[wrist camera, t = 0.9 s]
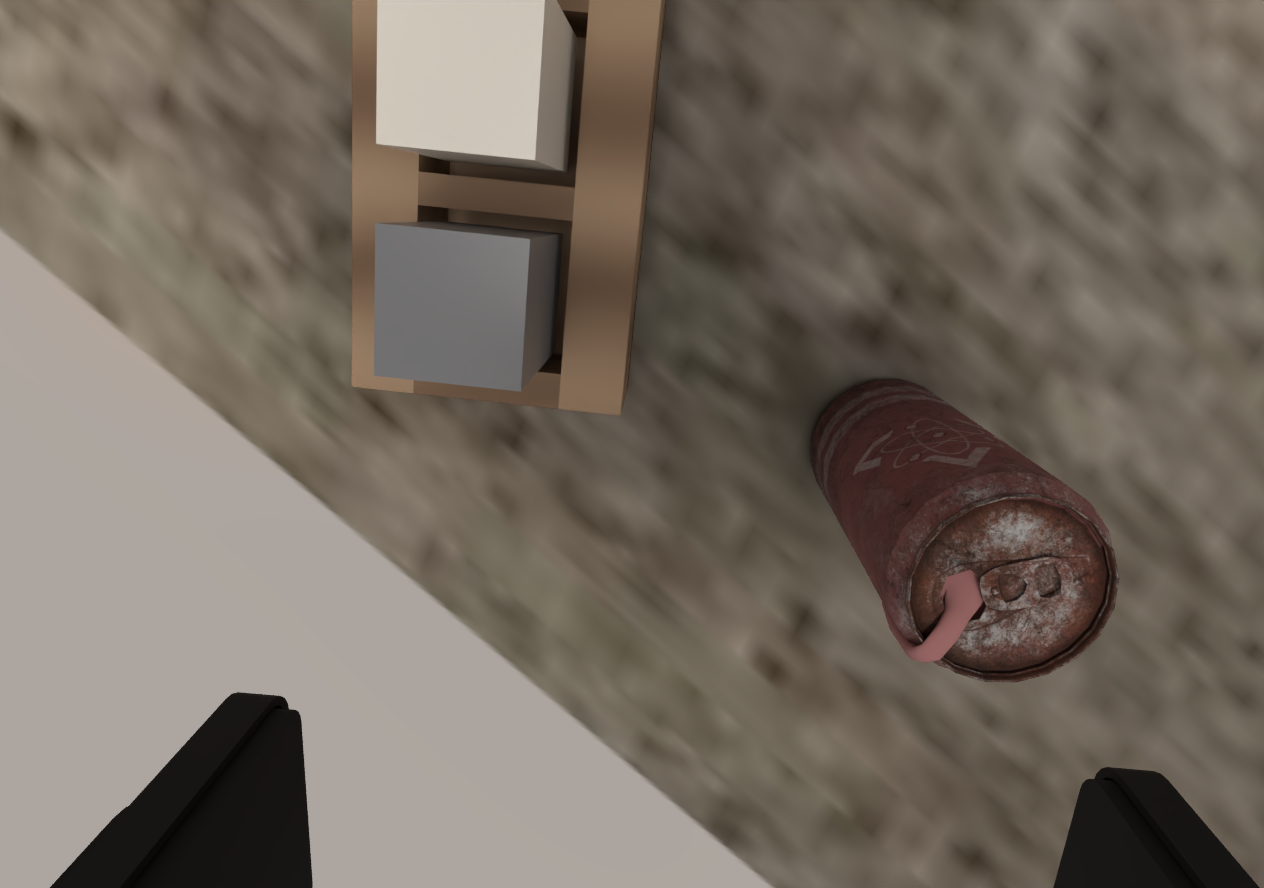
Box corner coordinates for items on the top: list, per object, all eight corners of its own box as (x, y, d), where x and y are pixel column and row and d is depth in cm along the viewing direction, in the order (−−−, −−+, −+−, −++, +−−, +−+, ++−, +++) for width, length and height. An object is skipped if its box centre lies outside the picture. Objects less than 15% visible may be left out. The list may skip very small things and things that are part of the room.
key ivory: (449, 25, 27) (377, -37, 21) (577, 37, 27) (545, -20, 21) (445, 160, 29) (375, 143, 22) (567, 173, 29) (535, 160, 22)
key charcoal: (443, 220, 29) (375, 222, 23) (562, 233, 29) (530, 239, 22) (439, 340, 30) (373, 375, 24) (554, 352, 30) (520, 391, 24)
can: (775, 464, 35) (841, 621, 21) (872, 347, 33) (1009, 438, 20) (882, 542, 36) (1011, 741, 22) (982, 432, 34) (1186, 574, 21)
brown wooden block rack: (406, -217, 29) (352, -304, 24) (685, -190, 28) (688, -273, 24) (396, 362, 34) (352, 386, 30) (627, 387, 34) (620, 415, 29)
